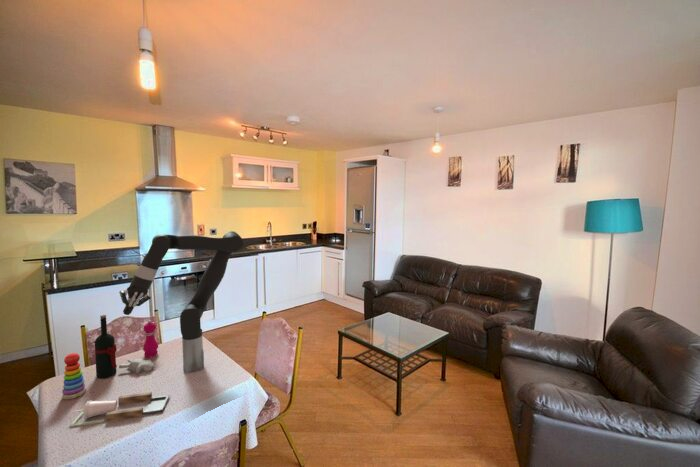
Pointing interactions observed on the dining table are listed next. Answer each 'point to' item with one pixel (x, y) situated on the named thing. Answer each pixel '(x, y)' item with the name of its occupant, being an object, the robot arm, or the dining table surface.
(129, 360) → the bunny figurine
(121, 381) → the dining table surface
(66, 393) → the stacking toy
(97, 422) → the frame
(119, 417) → the walnut channel
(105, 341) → the wine bottle
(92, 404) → the smoothie
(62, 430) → the dining table surface
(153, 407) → the tray
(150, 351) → the pepper mill
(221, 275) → the robot arm
